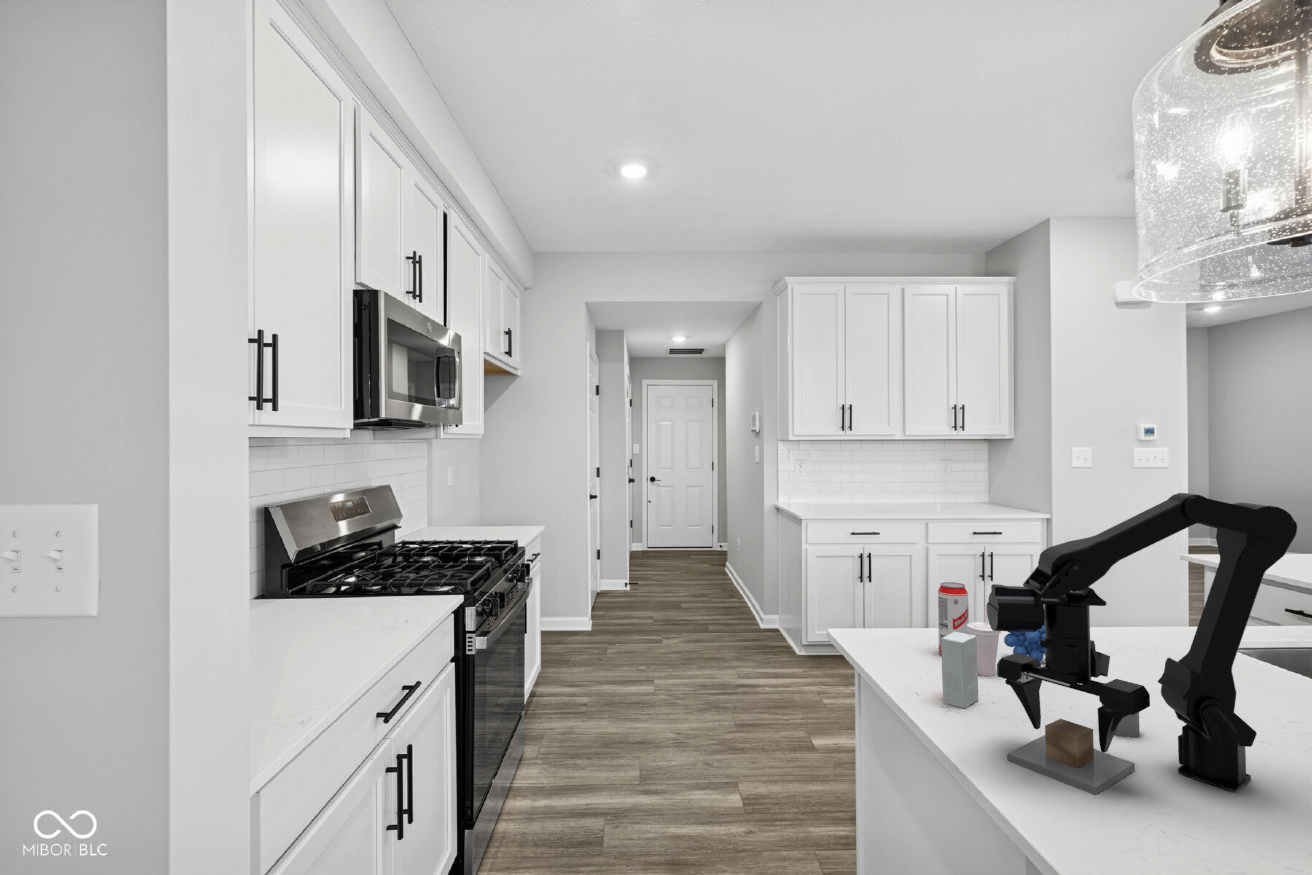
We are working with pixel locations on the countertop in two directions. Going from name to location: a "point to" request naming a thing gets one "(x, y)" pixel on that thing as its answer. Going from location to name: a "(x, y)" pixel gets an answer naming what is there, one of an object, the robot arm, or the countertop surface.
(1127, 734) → the grey cylinder
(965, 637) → the skincare box
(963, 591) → the beer can
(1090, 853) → the countertop surface
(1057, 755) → the walnut block
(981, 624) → the smoothie
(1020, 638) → the grapes
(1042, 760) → the slate pad
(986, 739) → the countertop surface
